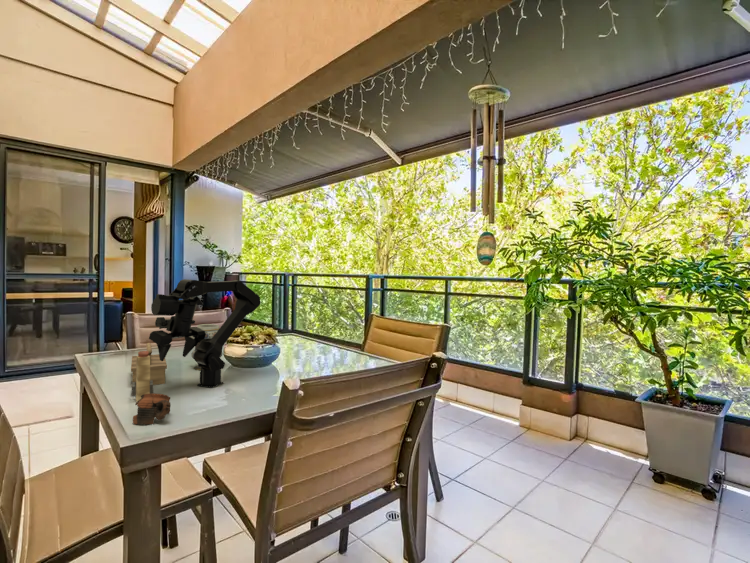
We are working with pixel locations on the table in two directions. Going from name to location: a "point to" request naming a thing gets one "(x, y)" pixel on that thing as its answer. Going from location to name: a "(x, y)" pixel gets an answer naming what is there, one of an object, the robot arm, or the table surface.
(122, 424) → the table surface
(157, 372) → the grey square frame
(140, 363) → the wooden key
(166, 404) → the brown black chunky piece
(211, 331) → the apothecary jar
